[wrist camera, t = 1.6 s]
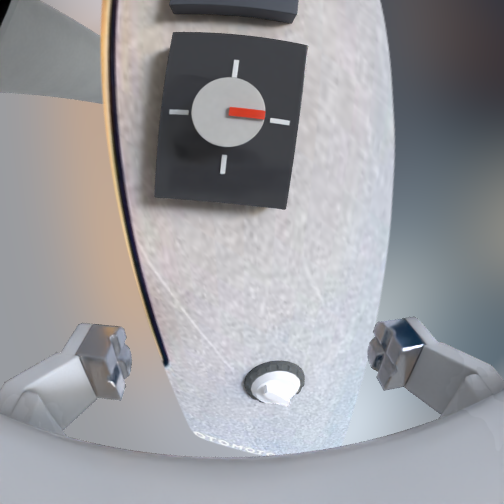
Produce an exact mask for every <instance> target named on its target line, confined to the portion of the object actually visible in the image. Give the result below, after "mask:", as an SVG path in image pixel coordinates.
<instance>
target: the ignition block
mask: <svg viewBox="0 0 504 504" xmlns="http://www.w3.org/2000/svg"><path fill="white" fill-rule="evenodd" d="M169 5H170V7H171V9H172V11H173V13H174V14H216V15H232V16H243V17H253V18H261V19H268V20H275V21H281V22H287V23H292V22H293V20H294V18H295V17H296V15H297V9H298V0H170V3H169Z"/></svg>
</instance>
